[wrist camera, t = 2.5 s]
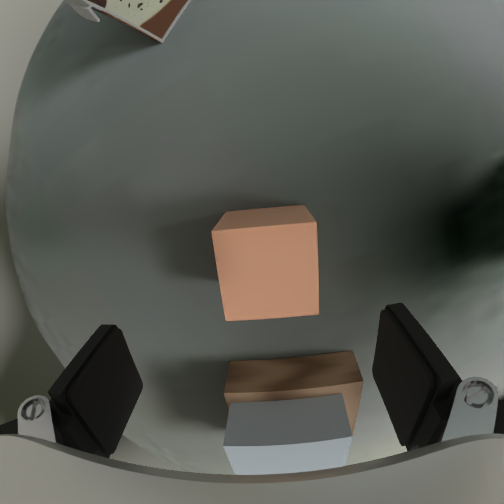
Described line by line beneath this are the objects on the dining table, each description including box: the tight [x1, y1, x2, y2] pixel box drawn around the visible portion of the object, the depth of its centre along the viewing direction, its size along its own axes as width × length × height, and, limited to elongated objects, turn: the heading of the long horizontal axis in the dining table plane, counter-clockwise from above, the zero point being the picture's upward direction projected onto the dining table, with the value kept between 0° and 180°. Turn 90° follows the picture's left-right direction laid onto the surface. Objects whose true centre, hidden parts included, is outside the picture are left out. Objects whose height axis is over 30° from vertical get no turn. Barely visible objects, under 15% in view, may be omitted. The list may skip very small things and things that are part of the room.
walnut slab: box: [224, 351, 363, 435], centre depth 24 cm, size 11×11×4 cm
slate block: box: [223, 393, 352, 475], centre depth 20 cm, size 9×9×4 cm
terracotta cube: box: [211, 205, 319, 321], centre depth 18 cm, size 6×6×6 cm
